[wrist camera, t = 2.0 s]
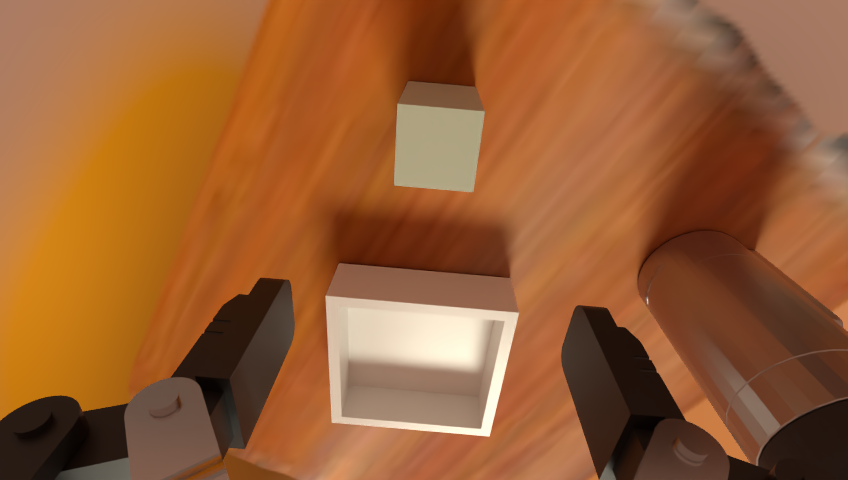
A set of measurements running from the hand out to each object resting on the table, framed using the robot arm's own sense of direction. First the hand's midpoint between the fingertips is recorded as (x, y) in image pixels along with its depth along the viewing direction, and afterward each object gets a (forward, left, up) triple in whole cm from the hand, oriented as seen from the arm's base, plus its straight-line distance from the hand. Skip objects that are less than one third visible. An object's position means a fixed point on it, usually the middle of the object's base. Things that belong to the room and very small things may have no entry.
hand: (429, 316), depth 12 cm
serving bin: (0, +22, -23) cm, 32 cm away
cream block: (0, 0, -23) cm, 23 cm away
